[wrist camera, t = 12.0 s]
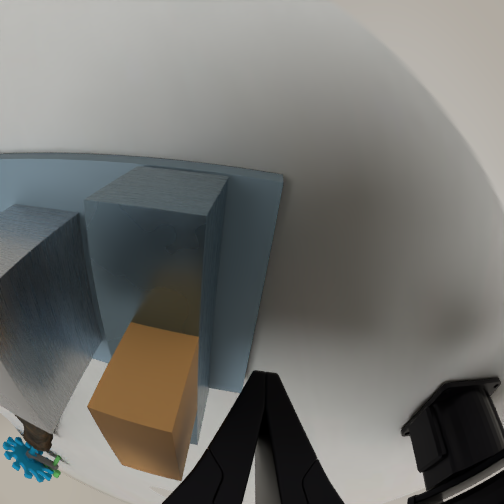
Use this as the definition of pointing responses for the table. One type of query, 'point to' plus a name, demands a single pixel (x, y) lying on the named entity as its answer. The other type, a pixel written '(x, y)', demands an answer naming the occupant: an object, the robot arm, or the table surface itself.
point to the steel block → (43, 312)
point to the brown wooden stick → (36, 436)
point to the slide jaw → (155, 310)
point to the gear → (31, 460)
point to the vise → (232, 245)
